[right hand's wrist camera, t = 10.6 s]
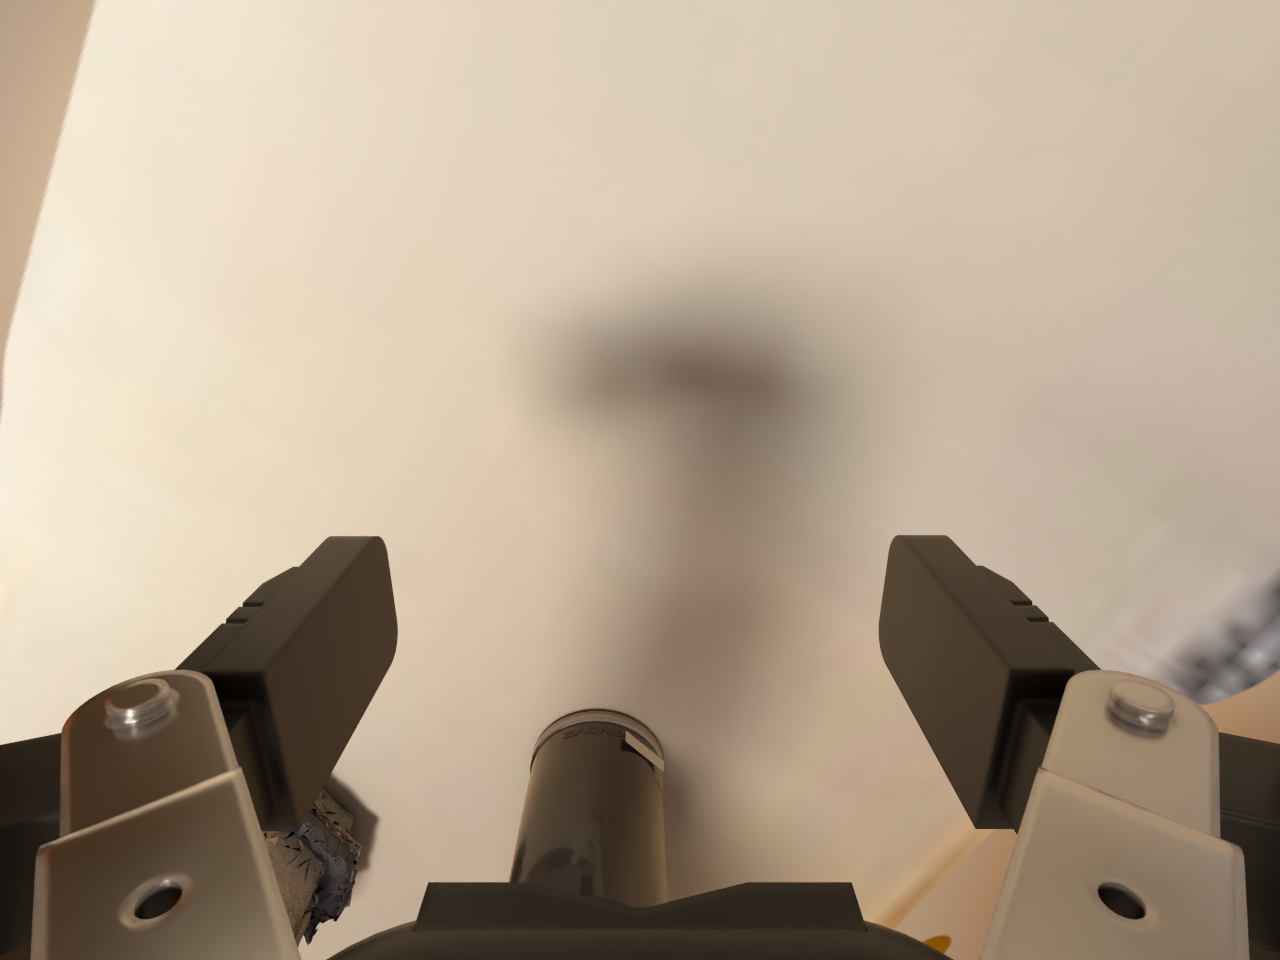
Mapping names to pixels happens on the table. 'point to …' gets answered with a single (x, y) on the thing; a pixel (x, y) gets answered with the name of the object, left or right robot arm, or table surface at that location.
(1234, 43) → the table surface
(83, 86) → the table surface
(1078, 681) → the right robot arm
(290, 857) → the miniature building
